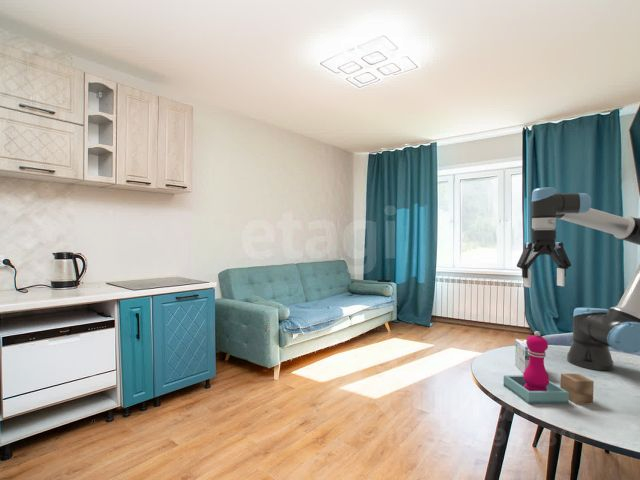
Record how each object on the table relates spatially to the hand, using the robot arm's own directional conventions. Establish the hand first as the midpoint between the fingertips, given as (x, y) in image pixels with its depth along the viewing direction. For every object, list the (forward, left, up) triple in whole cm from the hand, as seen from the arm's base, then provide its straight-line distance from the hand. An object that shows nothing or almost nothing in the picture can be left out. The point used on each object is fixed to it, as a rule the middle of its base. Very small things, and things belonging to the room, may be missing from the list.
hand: (544, 286), depth 129 cm
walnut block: (+2, +19, -33) cm, 38 cm away
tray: (+14, +15, -33) cm, 39 cm away
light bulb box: (+2, -4, -34) cm, 34 cm away
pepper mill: (+13, +16, -33) cm, 39 cm away
